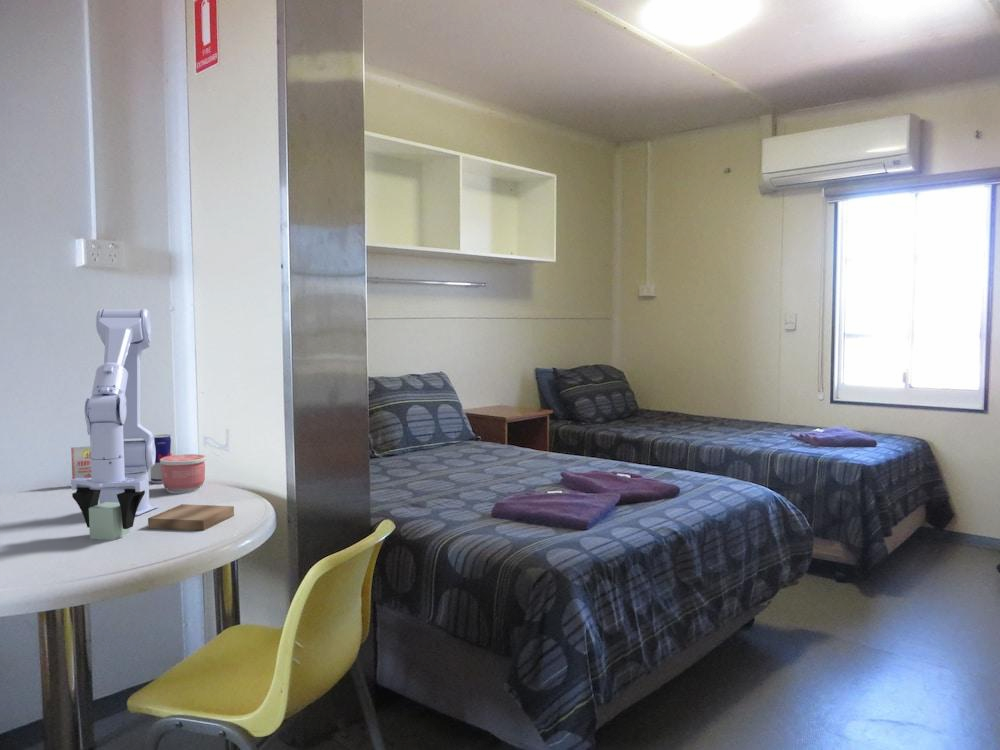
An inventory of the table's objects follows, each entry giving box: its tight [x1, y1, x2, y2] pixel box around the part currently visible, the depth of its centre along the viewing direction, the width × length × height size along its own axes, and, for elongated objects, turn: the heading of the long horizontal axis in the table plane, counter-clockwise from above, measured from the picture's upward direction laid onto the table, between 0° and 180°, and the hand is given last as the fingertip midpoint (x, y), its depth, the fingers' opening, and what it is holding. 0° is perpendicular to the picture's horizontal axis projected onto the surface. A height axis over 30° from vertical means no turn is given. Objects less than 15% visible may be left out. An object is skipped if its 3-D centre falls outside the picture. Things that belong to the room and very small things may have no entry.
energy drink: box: [149, 433, 174, 485], centre depth 198 cm, size 5×5×12 cm
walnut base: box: [147, 503, 235, 532], centre depth 158 cm, size 12×12×2 cm
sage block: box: [88, 502, 131, 541], centre depth 148 cm, size 5×5×6 cm
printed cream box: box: [70, 445, 91, 480], centre depth 194 cm, size 4×7×10 cm, turn 119°
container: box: [160, 453, 207, 494], centre depth 188 cm, size 10×10×8 cm
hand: (110, 527), depth 148 cm, fingers open, 7 cm apart
